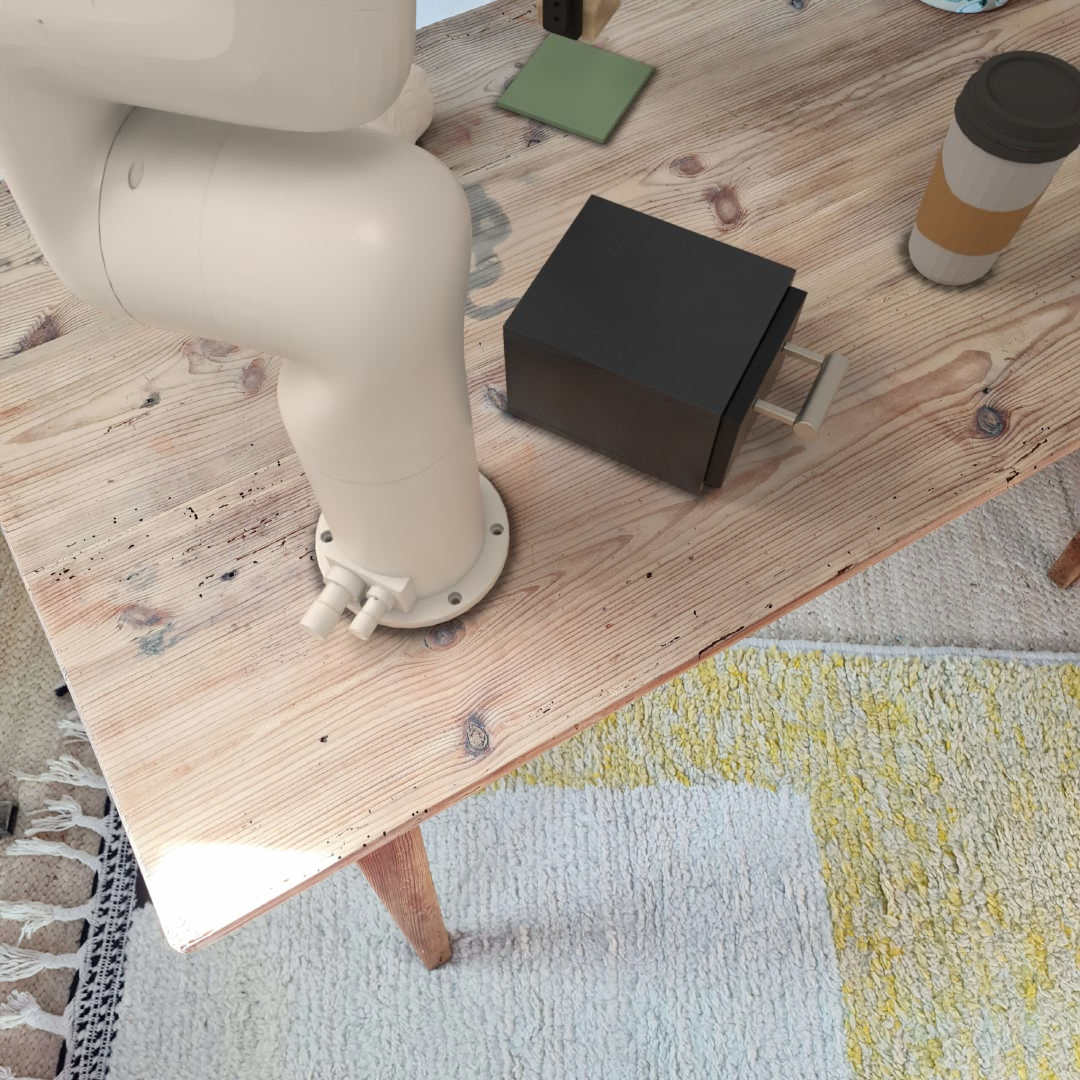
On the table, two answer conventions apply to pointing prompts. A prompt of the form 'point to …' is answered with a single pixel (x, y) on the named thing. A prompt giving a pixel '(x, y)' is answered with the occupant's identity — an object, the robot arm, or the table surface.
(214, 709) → the table surface
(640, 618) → the table surface
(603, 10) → the block
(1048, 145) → the coffee cup
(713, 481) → the drawer
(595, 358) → the cabinet
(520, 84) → the mat
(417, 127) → the bust
